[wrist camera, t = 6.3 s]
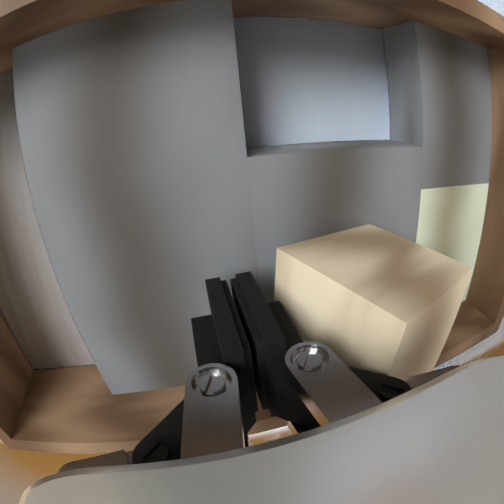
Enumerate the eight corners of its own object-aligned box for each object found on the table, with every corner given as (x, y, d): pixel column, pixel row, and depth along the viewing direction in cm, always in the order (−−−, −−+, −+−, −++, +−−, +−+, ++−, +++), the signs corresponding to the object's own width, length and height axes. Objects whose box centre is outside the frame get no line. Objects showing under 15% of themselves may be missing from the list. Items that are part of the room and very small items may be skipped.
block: (369, 223, 13) (472, 268, 9) (351, 319, 15) (431, 372, 11) (276, 247, 10) (407, 323, 6) (269, 361, 12) (357, 440, 8)
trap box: (464, 39, 12) (533, 37, 7) (448, 291, 20) (497, 331, 15) (-66, 95, 7) (-135, 103, 2) (29, 381, 15) (9, 448, 10)
